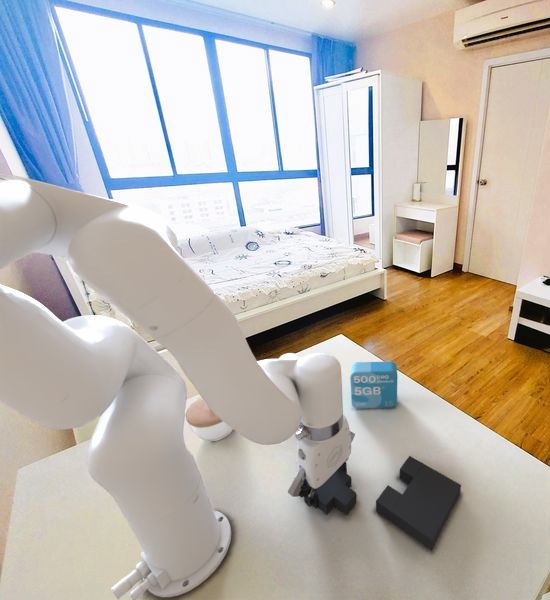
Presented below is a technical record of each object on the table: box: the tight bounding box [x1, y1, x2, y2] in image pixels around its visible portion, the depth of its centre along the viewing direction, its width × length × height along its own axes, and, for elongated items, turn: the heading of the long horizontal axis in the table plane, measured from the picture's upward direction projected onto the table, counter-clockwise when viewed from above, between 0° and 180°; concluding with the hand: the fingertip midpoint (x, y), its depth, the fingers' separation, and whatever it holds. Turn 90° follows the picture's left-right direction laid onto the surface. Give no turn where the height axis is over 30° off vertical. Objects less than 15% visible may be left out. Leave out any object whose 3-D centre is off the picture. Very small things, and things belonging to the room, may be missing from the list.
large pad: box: [375, 455, 462, 551], centre depth 62 cm, size 12×12×3 cm
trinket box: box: [185, 396, 234, 442], centre depth 76 cm, size 11×11×9 cm
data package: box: [349, 360, 398, 410], centre depth 85 cm, size 12×4×12 cm, turn 94°
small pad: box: [307, 468, 358, 517], centre depth 63 cm, size 7×10×3 cm
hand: (326, 487), depth 63 cm, fingers closed on small pad, 7 cm apart
